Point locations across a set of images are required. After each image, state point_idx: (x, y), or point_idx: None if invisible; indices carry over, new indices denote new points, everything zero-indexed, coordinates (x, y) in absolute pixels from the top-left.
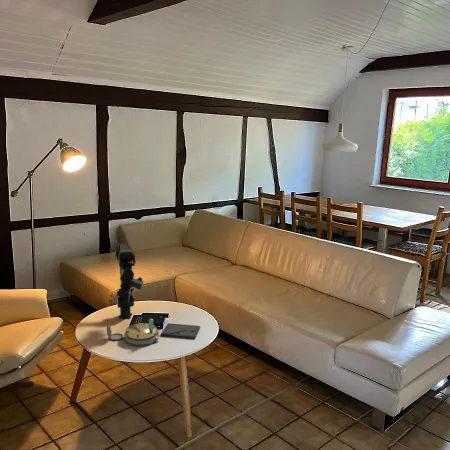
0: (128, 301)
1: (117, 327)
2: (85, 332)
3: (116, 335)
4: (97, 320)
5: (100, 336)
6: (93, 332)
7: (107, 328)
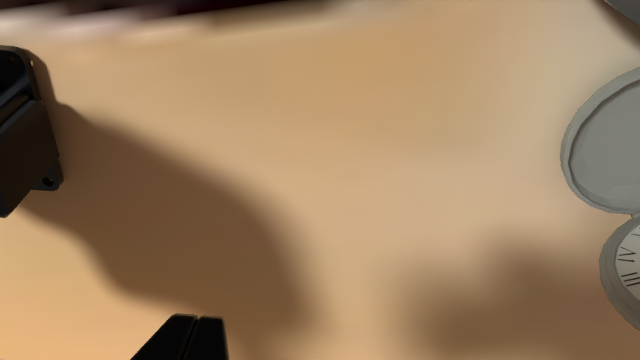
0: (179, 349)
1: (327, 160)
2: None
3: (584, 143)
4: None
5: (546, 279)
6: (437, 335)
7: (615, 297)
